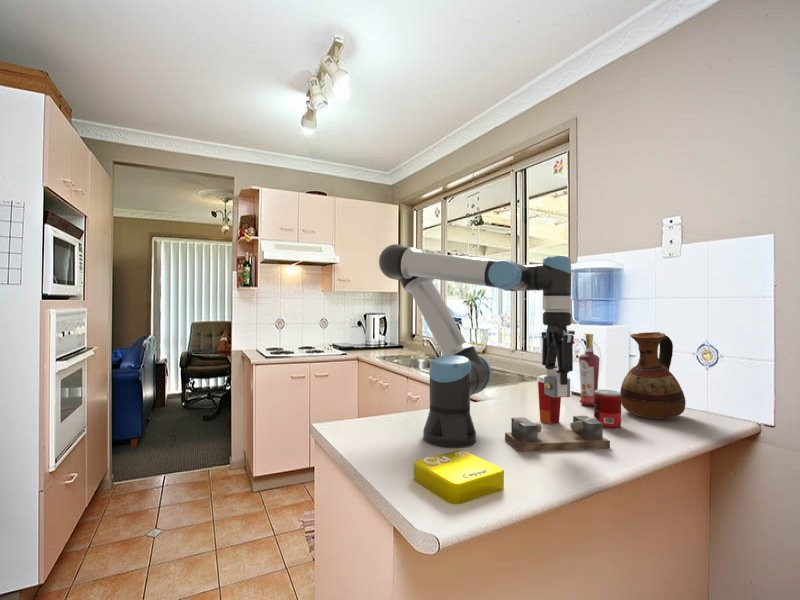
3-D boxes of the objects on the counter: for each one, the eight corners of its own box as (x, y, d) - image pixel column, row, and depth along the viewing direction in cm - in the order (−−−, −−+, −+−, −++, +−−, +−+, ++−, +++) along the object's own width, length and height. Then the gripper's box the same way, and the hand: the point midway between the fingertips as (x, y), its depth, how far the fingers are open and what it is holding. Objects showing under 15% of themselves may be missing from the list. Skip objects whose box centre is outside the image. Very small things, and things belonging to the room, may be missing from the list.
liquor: (603, 406, 160) (603, 334, 161) (591, 408, 157) (591, 334, 157) (586, 402, 167) (587, 333, 167) (574, 404, 163) (575, 333, 163)
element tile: (453, 508, 79) (453, 483, 79) (409, 480, 92) (410, 458, 92) (508, 490, 88) (508, 467, 88) (461, 466, 100) (461, 446, 100)
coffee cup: (561, 419, 141) (561, 375, 141) (564, 426, 133) (564, 379, 133) (535, 417, 143) (535, 374, 144) (536, 424, 135) (537, 378, 136)
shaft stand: (519, 451, 110) (519, 424, 110) (505, 439, 119) (505, 414, 120) (609, 448, 113) (610, 421, 113) (588, 436, 123) (588, 412, 123)
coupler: (563, 393, 119) (563, 375, 119) (572, 396, 114) (572, 378, 114) (541, 393, 118) (541, 376, 118) (550, 397, 113) (550, 379, 114)
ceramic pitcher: (608, 412, 152) (608, 330, 152) (641, 406, 161) (641, 329, 161) (663, 426, 134) (663, 334, 135) (697, 418, 144) (697, 332, 144)
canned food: (626, 427, 133) (626, 393, 133) (608, 430, 130) (608, 395, 130) (606, 421, 140) (606, 388, 140) (588, 423, 137) (588, 390, 137)
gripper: (587, 312, 108) (587, 401, 108) (553, 311, 126) (553, 387, 126) (561, 311, 107) (560, 401, 107) (530, 310, 125) (529, 387, 125)
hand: (556, 393), depth 116 cm, fingers closed on coupler, 5 cm apart
